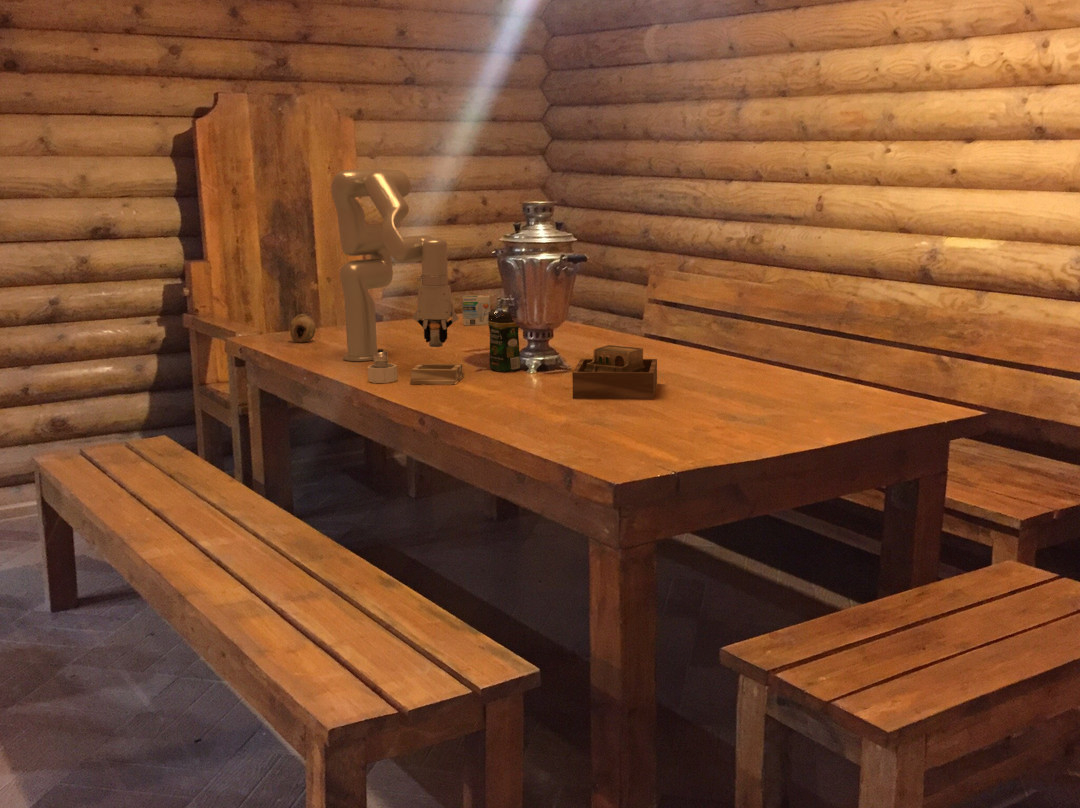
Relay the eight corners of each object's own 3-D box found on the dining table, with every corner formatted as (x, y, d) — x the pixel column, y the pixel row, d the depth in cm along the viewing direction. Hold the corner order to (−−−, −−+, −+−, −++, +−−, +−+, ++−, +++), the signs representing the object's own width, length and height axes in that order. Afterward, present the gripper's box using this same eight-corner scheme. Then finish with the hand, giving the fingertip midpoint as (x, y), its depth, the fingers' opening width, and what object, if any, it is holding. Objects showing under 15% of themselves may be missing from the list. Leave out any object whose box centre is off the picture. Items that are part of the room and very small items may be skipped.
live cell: (430, 344, 347) (430, 315, 345) (444, 344, 347) (443, 316, 345) (427, 346, 344) (427, 317, 341) (441, 347, 343) (440, 318, 341)
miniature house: (605, 383, 327) (604, 343, 325) (648, 388, 319) (648, 347, 317) (575, 392, 315) (575, 351, 313) (619, 398, 307) (619, 356, 305)
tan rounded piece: (288, 341, 411) (286, 313, 409) (312, 339, 414) (310, 311, 412) (295, 345, 403) (293, 316, 400) (319, 342, 406) (317, 314, 404)
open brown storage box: (581, 382, 327) (580, 358, 326) (656, 383, 324) (656, 359, 323) (572, 398, 308) (572, 372, 306) (653, 399, 305) (653, 373, 303)
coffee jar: (485, 369, 351) (483, 308, 347) (506, 366, 355) (504, 306, 351) (503, 373, 343) (501, 311, 339) (525, 370, 348) (523, 309, 344)
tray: (420, 376, 342) (419, 363, 341) (463, 376, 340) (462, 363, 339) (410, 384, 331) (409, 370, 330) (454, 384, 329) (454, 371, 328)
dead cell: (377, 377, 339) (375, 348, 337) (390, 377, 338) (389, 348, 336) (373, 380, 335) (371, 350, 333) (386, 380, 334) (385, 350, 332)
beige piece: (373, 378, 341) (372, 363, 340) (399, 378, 340) (399, 363, 339) (365, 383, 334) (364, 368, 333) (392, 383, 332) (391, 368, 331)
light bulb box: (463, 326, 437) (462, 297, 435) (462, 323, 444) (461, 295, 442) (491, 324, 438) (490, 296, 436) (490, 322, 445) (489, 294, 442)
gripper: (404, 281, 338) (405, 343, 343) (460, 283, 336) (460, 345, 340) (410, 278, 345) (411, 338, 350) (465, 279, 343) (465, 340, 347)
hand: (435, 341), depth 345 cm, fingers closed on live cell, 4 cm apart
